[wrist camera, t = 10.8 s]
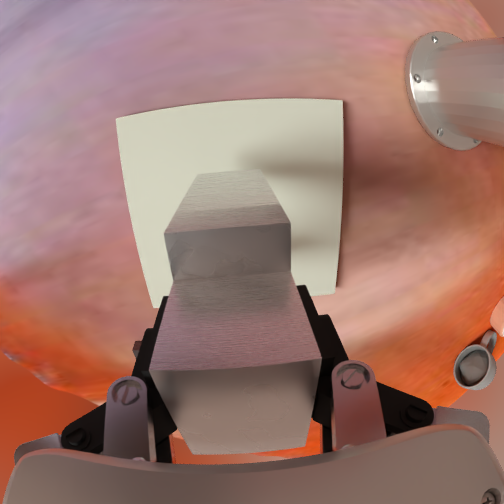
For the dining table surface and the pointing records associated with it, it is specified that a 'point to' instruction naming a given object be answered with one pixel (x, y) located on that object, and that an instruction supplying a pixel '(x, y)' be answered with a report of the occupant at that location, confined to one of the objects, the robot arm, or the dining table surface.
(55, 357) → the dining table surface
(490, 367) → the ceramic mug
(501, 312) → the salt shaker
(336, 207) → the mat
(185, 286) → the stepped metal block
